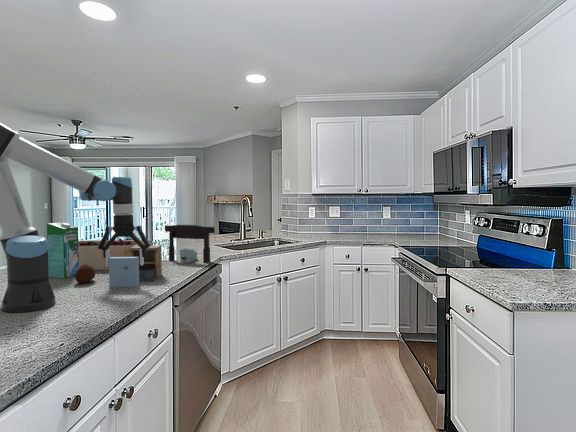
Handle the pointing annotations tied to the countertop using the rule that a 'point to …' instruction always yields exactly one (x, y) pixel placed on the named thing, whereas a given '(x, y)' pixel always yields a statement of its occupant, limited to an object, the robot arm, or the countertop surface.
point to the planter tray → (100, 254)
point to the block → (123, 271)
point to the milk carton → (62, 250)
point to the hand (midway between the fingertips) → (125, 265)
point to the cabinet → (149, 262)
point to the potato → (84, 274)
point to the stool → (189, 233)
